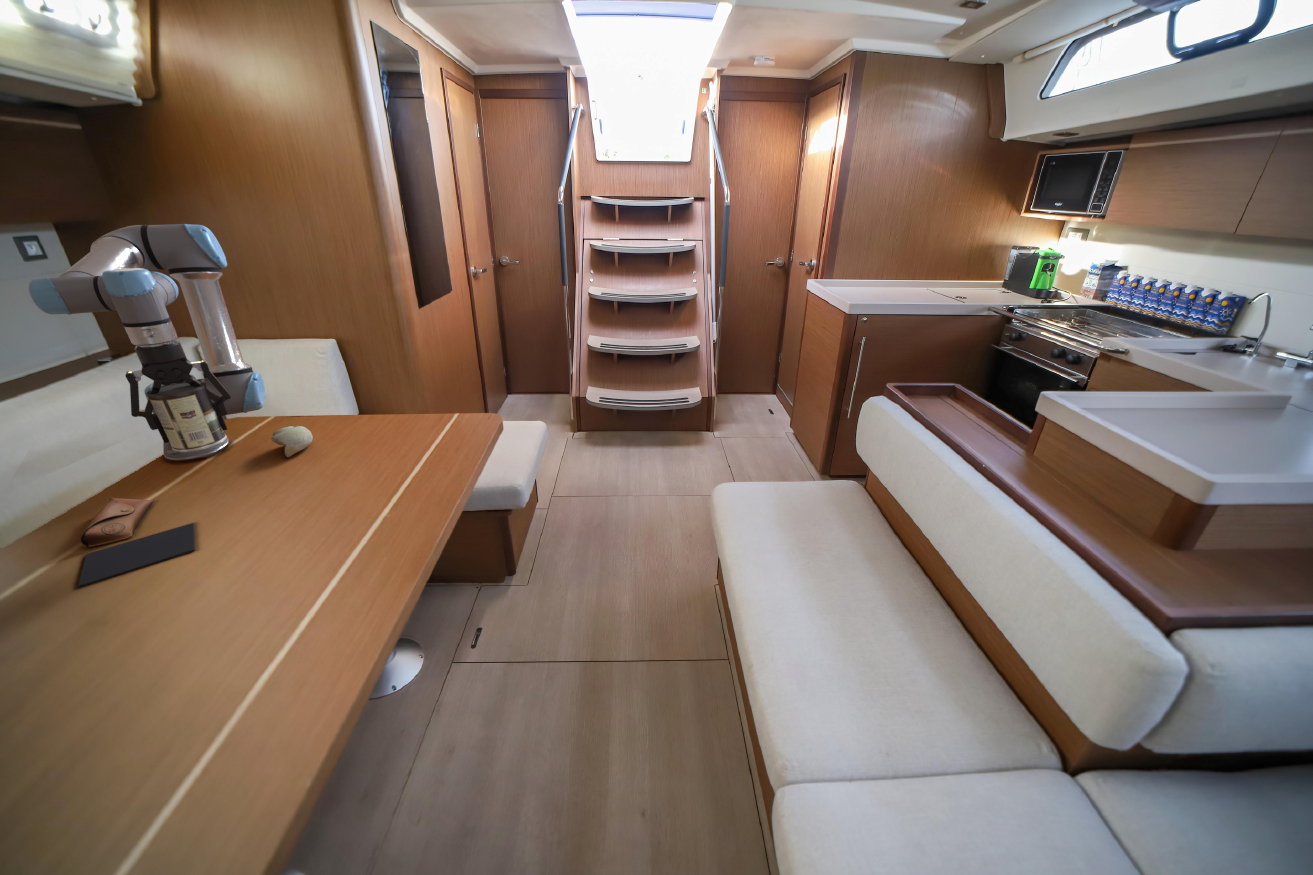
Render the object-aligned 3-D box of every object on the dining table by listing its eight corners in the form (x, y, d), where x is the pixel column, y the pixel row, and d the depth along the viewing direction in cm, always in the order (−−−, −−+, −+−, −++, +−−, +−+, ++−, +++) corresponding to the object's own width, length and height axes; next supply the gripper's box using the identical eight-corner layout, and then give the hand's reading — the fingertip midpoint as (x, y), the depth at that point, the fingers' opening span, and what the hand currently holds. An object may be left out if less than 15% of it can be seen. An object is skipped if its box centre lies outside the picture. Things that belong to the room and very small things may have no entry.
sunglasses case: (134, 535, 115) (102, 519, 111) (106, 556, 114) (72, 540, 110) (155, 498, 129) (127, 482, 125) (130, 516, 128) (101, 501, 124)
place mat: (87, 555, 110) (86, 554, 109) (193, 524, 120) (193, 522, 120) (78, 587, 101) (77, 586, 101) (194, 550, 111) (194, 549, 111)
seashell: (267, 424, 154) (304, 414, 158) (279, 445, 159) (315, 434, 163) (267, 443, 145) (306, 432, 149) (280, 465, 150) (318, 453, 154)
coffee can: (208, 431, 126) (185, 378, 120) (237, 437, 123) (216, 383, 117) (160, 448, 117) (134, 392, 111) (191, 455, 114) (165, 398, 108)
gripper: (80, 356, 100) (130, 454, 110) (223, 337, 114) (256, 426, 123) (84, 348, 105) (132, 442, 115) (220, 331, 119) (253, 417, 128)
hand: (196, 434), depth 119 cm, fingers closed on coffee can, 10 cm apart
